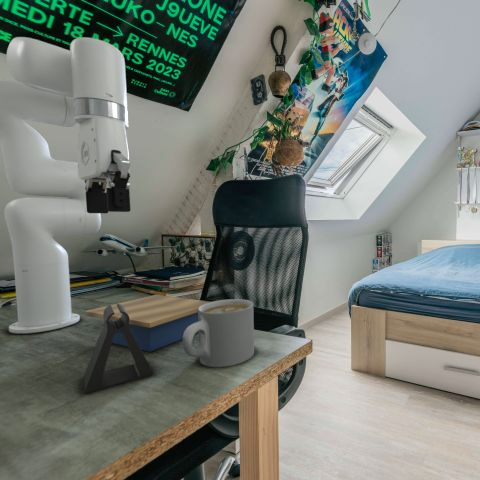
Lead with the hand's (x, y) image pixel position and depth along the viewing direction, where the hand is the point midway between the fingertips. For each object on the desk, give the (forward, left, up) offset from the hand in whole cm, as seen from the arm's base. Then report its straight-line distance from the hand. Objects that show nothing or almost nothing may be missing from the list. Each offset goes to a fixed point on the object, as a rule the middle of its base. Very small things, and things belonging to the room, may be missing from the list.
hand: (108, 212), depth 58 cm
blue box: (-5, +12, -28) cm, 31 cm away
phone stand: (+7, -3, -28) cm, 29 cm away
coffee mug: (+17, +9, -28) cm, 34 cm away
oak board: (-5, +12, -22) cm, 25 cm away
